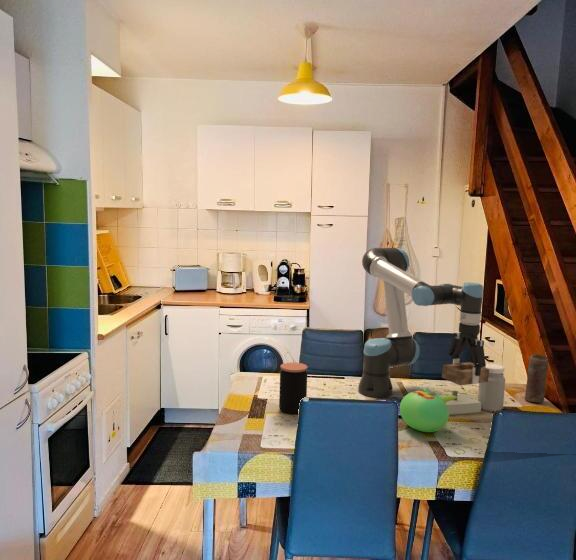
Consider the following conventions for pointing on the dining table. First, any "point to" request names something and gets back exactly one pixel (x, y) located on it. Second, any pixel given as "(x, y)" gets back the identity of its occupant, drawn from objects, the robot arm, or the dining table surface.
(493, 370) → the jar
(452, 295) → the robot arm
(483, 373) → the brown hollow cube
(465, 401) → the panel
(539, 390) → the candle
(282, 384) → the coffee jar
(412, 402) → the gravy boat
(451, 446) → the dining table surface
